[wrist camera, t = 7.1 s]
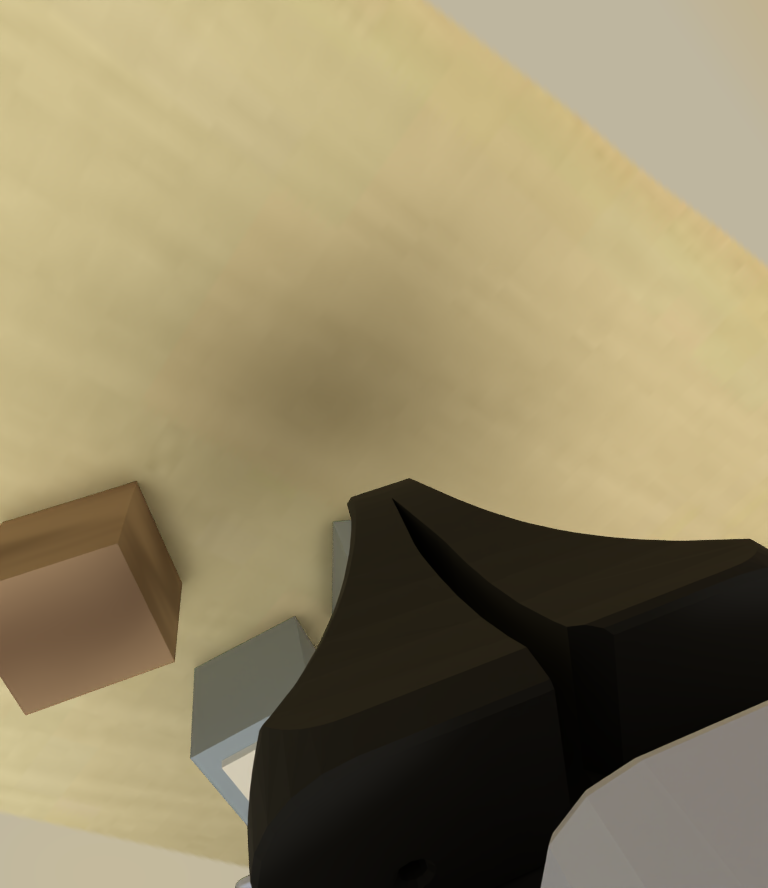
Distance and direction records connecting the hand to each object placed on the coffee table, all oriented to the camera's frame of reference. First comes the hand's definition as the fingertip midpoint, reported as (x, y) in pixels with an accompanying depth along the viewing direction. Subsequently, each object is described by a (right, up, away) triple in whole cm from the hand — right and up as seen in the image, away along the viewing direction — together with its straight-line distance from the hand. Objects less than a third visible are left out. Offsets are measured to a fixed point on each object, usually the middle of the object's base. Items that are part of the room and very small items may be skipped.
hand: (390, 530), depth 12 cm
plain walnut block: (-10, -2, +9) cm, 14 cm away
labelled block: (-5, -8, +13) cm, 16 cm away
